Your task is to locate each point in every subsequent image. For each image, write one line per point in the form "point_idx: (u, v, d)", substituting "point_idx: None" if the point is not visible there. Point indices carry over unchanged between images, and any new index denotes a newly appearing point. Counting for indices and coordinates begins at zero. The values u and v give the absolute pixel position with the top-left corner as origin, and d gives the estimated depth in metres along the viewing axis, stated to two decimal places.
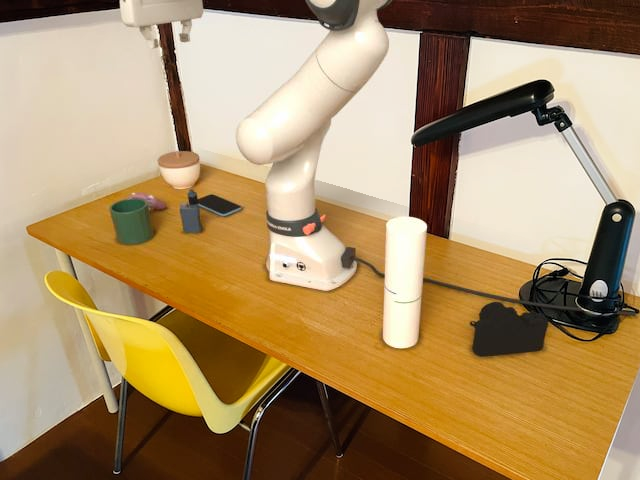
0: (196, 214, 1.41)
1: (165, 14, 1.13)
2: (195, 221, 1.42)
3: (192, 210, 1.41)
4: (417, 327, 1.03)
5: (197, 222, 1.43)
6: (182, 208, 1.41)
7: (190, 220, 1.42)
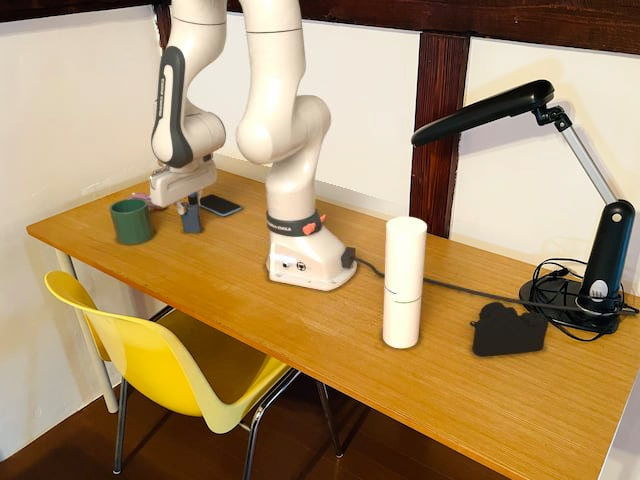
0: (196, 214, 1.41)
1: (186, 190, 1.37)
2: (195, 221, 1.42)
3: (192, 210, 1.41)
4: (417, 327, 1.03)
5: (197, 222, 1.43)
6: None
7: (190, 220, 1.42)
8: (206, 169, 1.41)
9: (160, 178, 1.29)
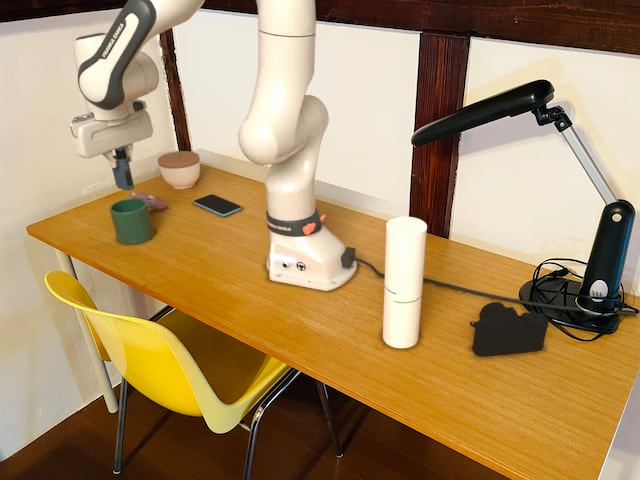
0: (122, 170, 1.31)
1: (115, 141, 1.27)
2: (122, 177, 1.32)
3: None
4: (417, 327, 1.03)
5: (124, 179, 1.32)
6: None
7: (118, 175, 1.33)
8: (139, 120, 1.31)
9: (82, 125, 1.19)
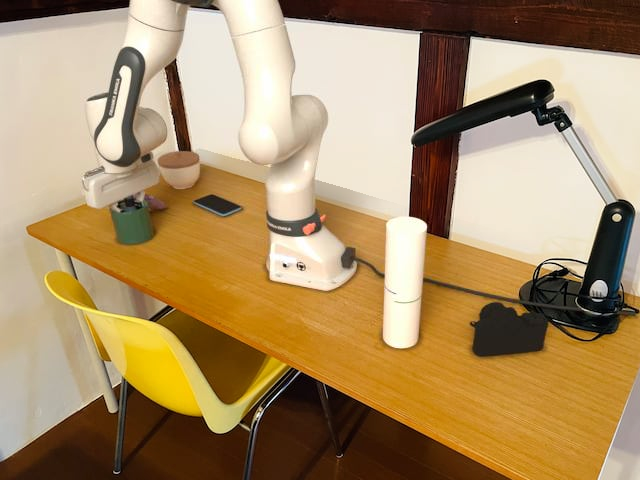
0: None
1: (124, 191, 1.33)
2: None
3: None
4: (417, 327, 1.03)
5: None
6: (120, 208, 1.38)
7: None
8: (146, 170, 1.38)
9: (93, 179, 1.26)
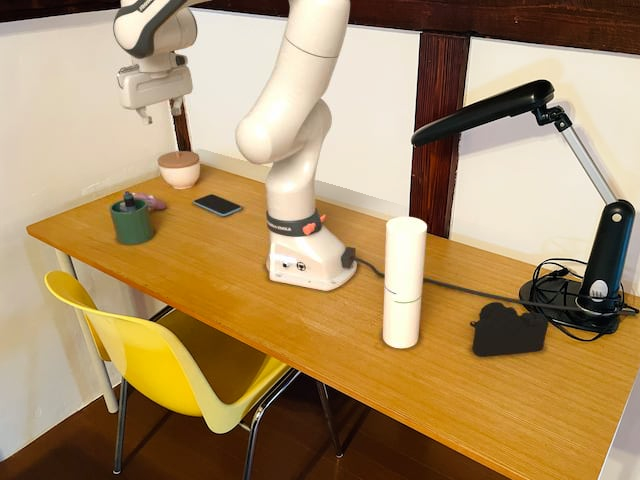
0: None
1: (158, 95, 1.29)
2: None
3: None
4: (417, 327, 1.03)
5: None
6: (120, 208, 1.38)
7: None
8: (180, 76, 1.33)
9: (128, 76, 1.21)
